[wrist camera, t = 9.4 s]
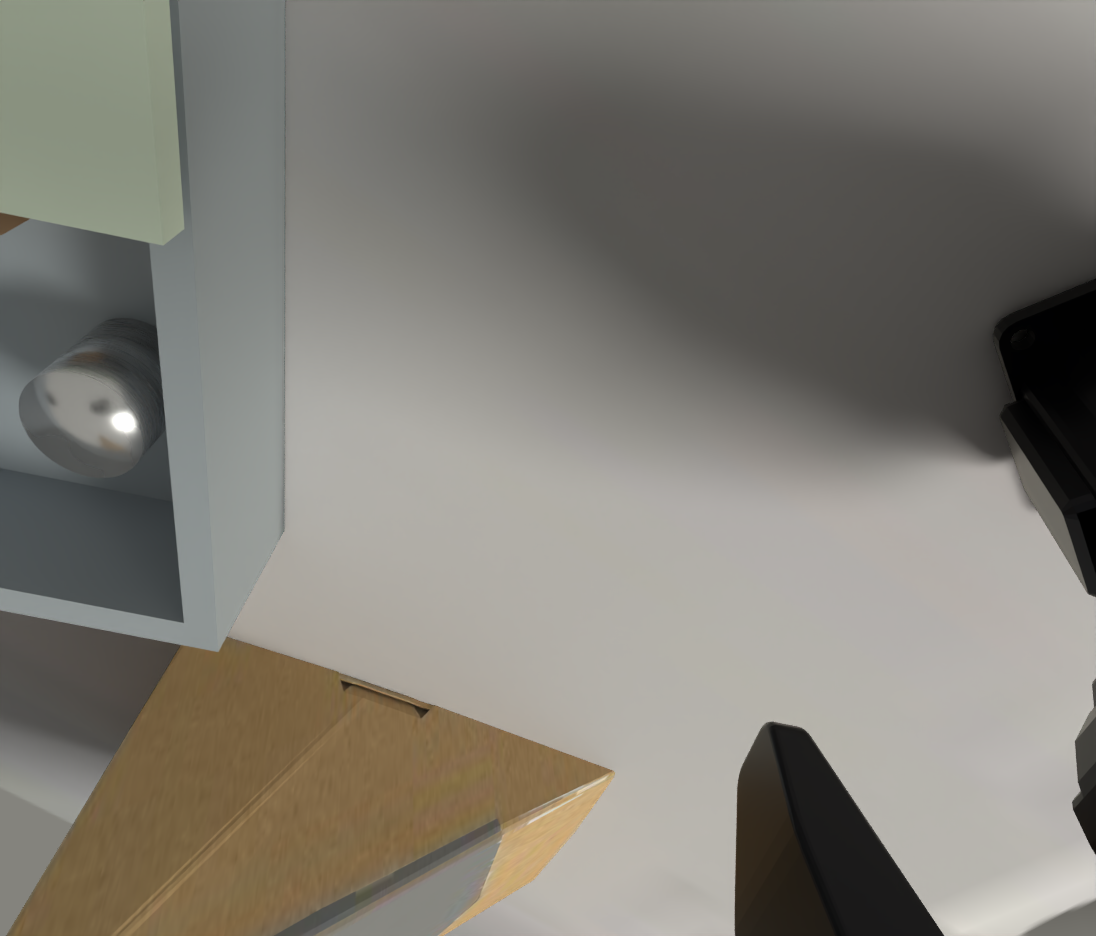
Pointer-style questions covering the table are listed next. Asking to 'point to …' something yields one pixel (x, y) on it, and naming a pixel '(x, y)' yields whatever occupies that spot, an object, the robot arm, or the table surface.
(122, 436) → the metal peg
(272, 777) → the sandwich container
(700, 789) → the table surface
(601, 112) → the table surface
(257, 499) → the tub
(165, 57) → the lid
